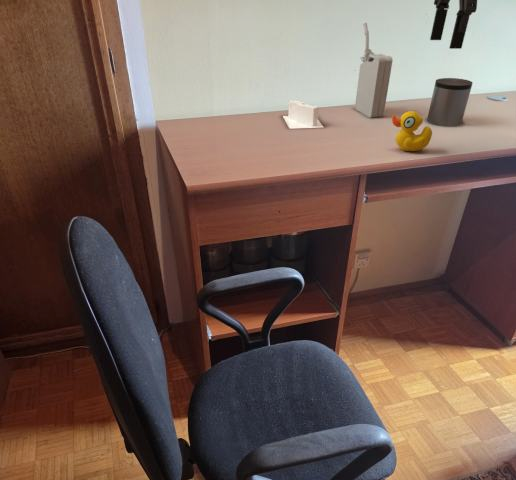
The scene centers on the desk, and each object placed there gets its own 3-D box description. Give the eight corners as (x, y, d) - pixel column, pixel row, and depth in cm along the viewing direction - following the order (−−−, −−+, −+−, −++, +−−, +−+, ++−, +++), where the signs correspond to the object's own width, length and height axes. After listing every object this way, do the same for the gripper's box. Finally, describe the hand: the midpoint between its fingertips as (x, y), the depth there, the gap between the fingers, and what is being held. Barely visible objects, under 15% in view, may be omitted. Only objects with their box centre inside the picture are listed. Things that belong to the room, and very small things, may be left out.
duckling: (386, 151, 126) (392, 113, 119) (386, 145, 130) (393, 107, 123) (428, 155, 124) (437, 115, 117) (427, 148, 128) (436, 110, 121)
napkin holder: (324, 127, 144) (326, 107, 140) (289, 128, 143) (290, 109, 139) (314, 114, 155) (315, 96, 151) (282, 116, 154) (282, 97, 150)
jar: (462, 127, 143) (473, 86, 136) (426, 124, 146) (435, 84, 138) (461, 118, 151) (471, 79, 143) (427, 115, 154) (435, 77, 146)
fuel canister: (351, 107, 163) (360, 22, 146) (363, 106, 164) (374, 22, 147) (369, 118, 152) (383, 28, 135) (383, 117, 153) (397, 27, 136)
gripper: (434, -69, 109) (414, 37, 123) (478, -73, 90) (448, 52, 104) (465, -69, 109) (441, 36, 123) (514, -72, 91) (480, 52, 105)
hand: (444, 44), depth 114 cm, fingers open, 13 cm apart
